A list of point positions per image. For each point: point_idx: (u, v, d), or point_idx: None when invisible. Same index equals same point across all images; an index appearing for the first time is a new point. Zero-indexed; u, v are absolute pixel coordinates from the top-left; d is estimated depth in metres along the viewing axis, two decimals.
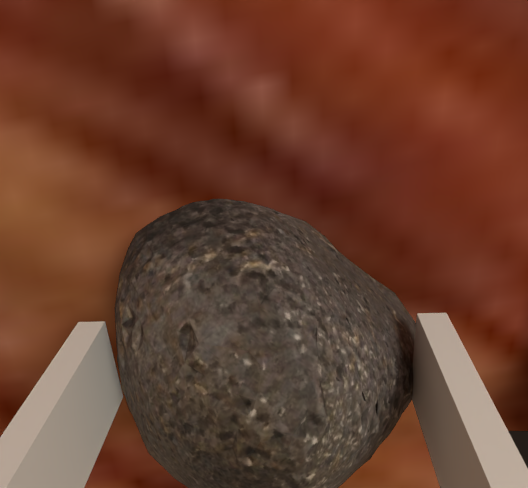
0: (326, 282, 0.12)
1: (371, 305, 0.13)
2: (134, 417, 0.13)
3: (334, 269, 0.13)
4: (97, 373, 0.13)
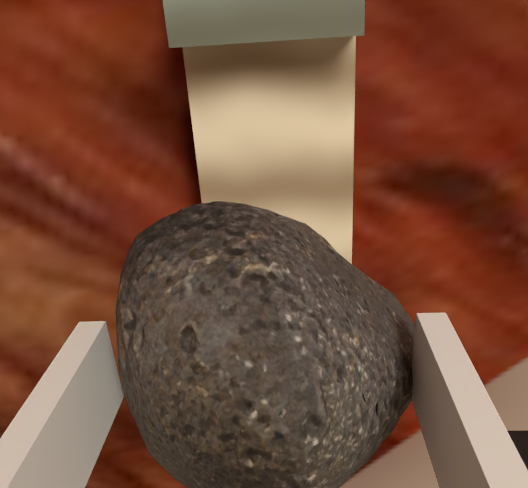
0: (327, 284, 0.12)
1: (370, 307, 0.13)
2: (135, 419, 0.13)
3: (334, 271, 0.13)
4: (98, 373, 0.13)
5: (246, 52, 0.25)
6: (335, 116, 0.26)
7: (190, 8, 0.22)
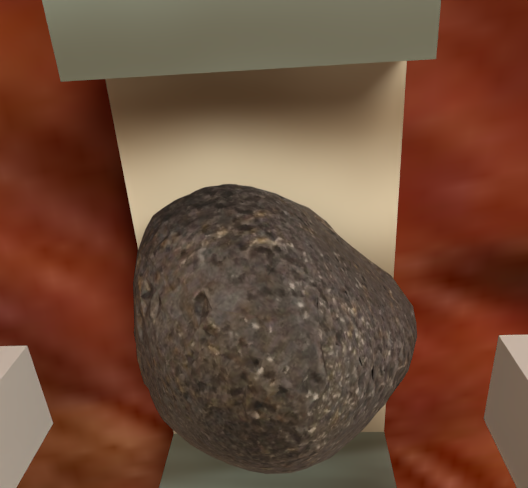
0: (327, 259, 0.13)
1: (368, 284, 0.14)
2: (150, 385, 0.14)
3: (334, 249, 0.14)
4: (15, 402, 0.12)
5: (215, 83, 0.15)
6: (367, 188, 0.16)
7: (95, 6, 0.11)
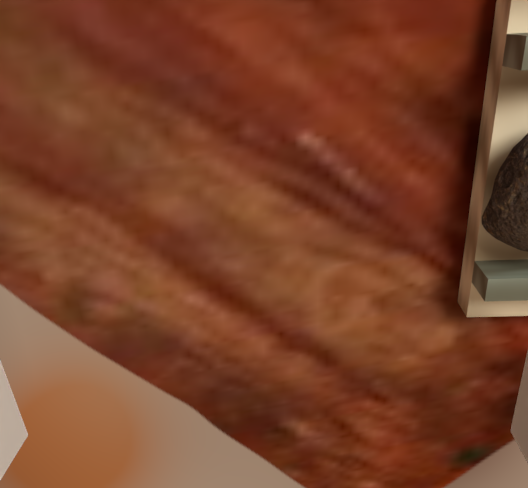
0: None
1: None
2: (524, 207, 0.33)
3: None
4: None
5: None
6: None
7: None
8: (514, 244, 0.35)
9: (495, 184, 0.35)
